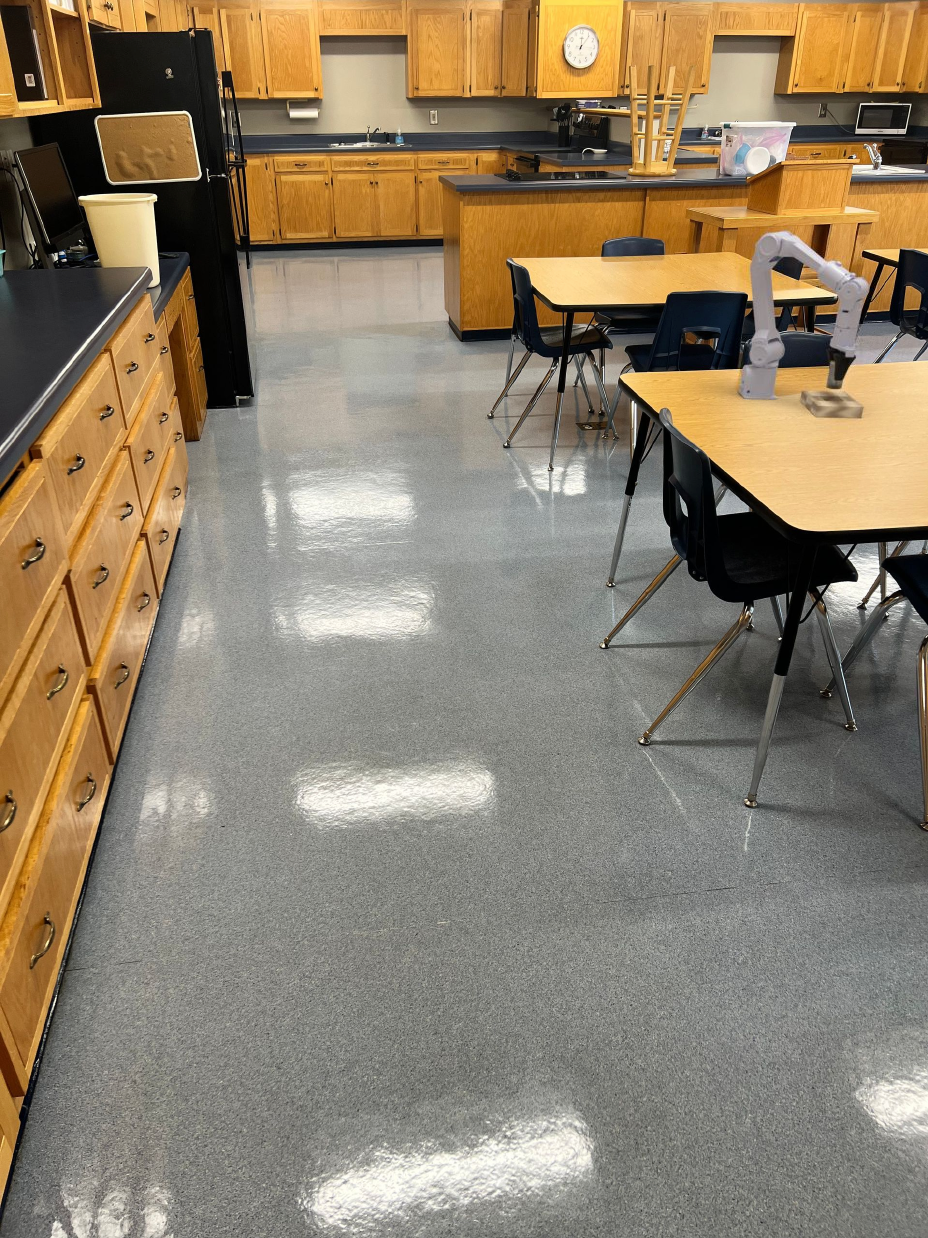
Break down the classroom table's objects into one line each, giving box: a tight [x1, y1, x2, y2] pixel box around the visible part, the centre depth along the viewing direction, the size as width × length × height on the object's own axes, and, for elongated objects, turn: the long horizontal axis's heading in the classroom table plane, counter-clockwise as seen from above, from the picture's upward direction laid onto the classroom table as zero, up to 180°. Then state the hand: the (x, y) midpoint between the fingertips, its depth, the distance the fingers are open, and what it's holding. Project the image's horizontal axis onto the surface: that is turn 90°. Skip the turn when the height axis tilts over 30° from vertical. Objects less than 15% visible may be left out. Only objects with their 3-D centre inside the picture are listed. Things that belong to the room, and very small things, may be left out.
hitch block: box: [799, 390, 865, 419], centre depth 248 cm, size 12×16×3 cm
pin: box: [825, 360, 844, 390], centre depth 244 cm, size 4×4×7 cm
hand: (836, 378), depth 245 cm, fingers closed on pin, 4 cm apart
